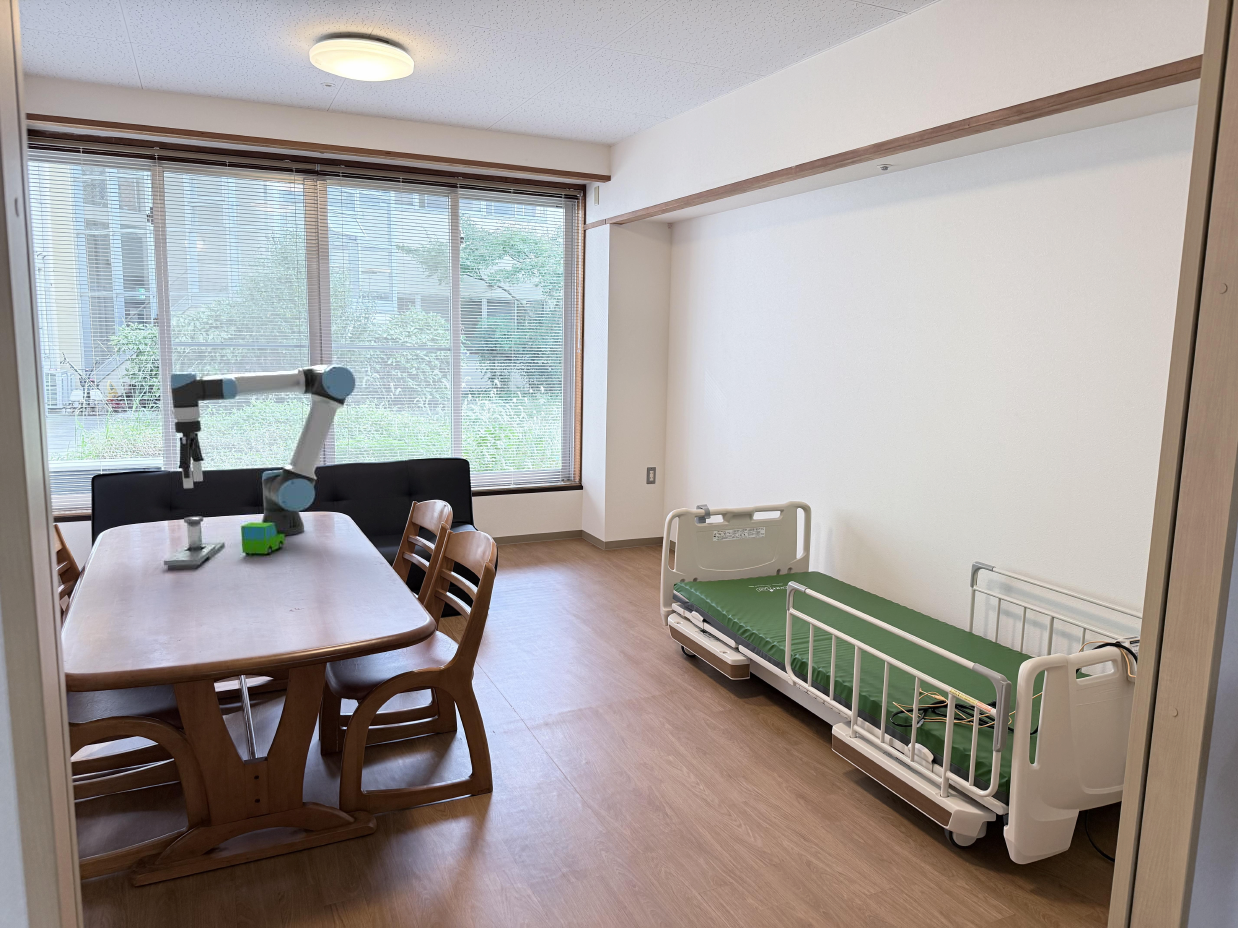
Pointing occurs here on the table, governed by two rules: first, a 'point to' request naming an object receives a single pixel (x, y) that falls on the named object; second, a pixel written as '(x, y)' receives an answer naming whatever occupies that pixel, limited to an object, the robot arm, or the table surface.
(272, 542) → the toy car
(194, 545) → the pin
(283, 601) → the table surface
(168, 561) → the plate with square hole
